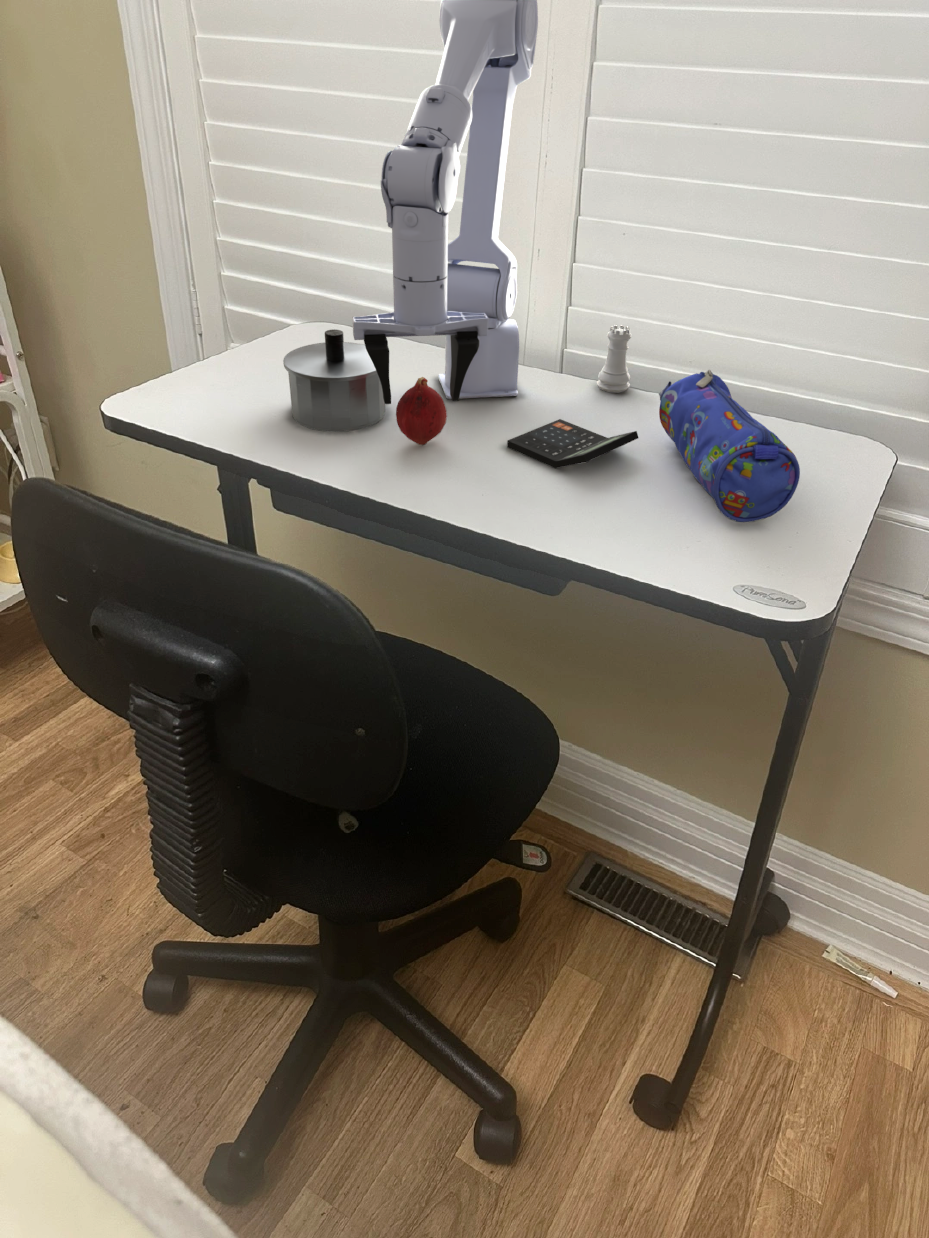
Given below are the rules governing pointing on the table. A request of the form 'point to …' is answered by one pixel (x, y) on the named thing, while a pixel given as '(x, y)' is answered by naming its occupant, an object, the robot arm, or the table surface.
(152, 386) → the table surface
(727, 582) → the table surface
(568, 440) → the calculator
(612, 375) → the rook chess piece
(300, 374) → the pot lid
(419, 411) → the red oval fruit
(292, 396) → the pot
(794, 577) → the table surface
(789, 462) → the pencil case
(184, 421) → the table surface
